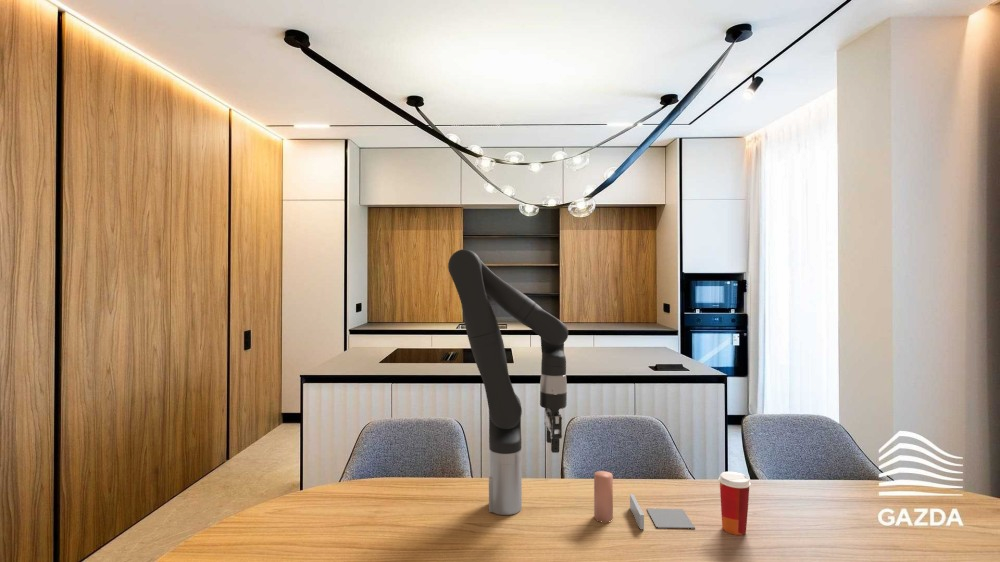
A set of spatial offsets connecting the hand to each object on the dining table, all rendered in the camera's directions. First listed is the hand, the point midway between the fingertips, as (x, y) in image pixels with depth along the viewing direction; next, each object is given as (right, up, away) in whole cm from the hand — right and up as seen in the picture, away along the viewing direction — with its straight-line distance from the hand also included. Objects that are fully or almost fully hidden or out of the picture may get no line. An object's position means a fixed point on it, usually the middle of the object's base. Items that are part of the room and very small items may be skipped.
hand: (552, 447), depth 142 cm
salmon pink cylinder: (+13, -18, -5) cm, 23 cm away
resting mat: (+31, -18, -5) cm, 37 cm away
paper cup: (+46, -18, -11) cm, 51 cm away
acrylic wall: (+22, -18, -5) cm, 29 cm away
